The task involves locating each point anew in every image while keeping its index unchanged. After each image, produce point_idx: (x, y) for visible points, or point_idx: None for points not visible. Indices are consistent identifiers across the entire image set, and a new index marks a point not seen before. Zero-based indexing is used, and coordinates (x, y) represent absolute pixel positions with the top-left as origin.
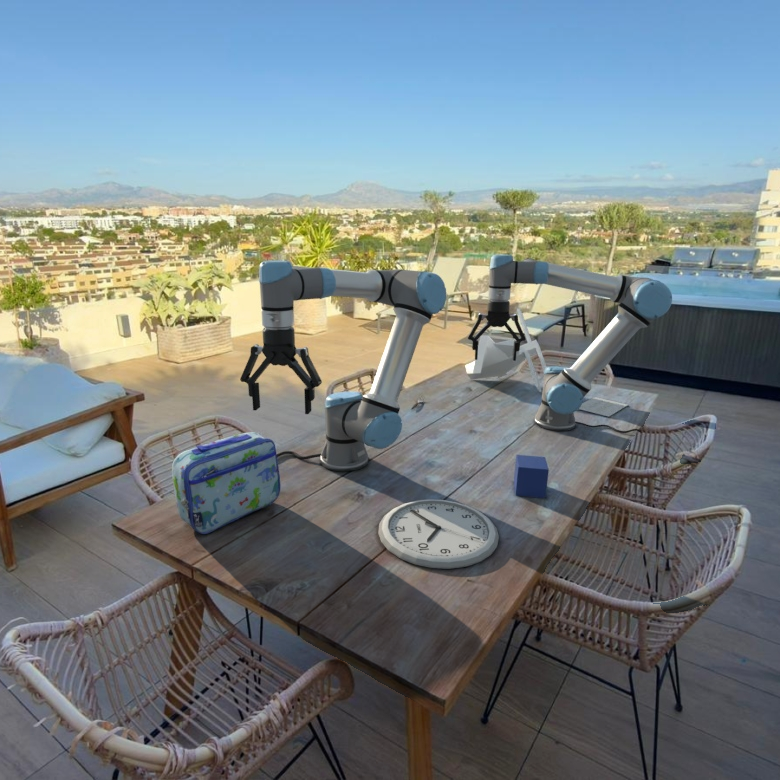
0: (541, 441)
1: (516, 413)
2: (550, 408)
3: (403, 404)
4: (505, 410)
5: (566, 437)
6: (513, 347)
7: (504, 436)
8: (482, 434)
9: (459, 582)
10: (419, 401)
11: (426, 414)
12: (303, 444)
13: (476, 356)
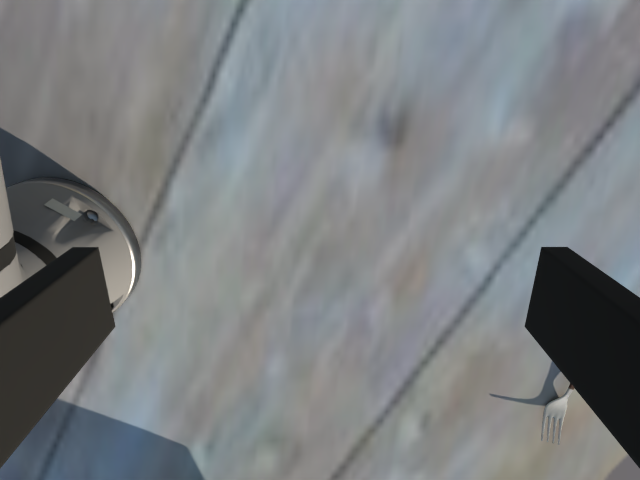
0: (115, 53)
1: (206, 339)
2: (36, 234)
3: None
4: (245, 363)
5: (16, 115)
6: (26, 432)
7: (265, 90)
8: (355, 101)
9: None
10: (559, 405)
11: None
12: None
13: (576, 265)
